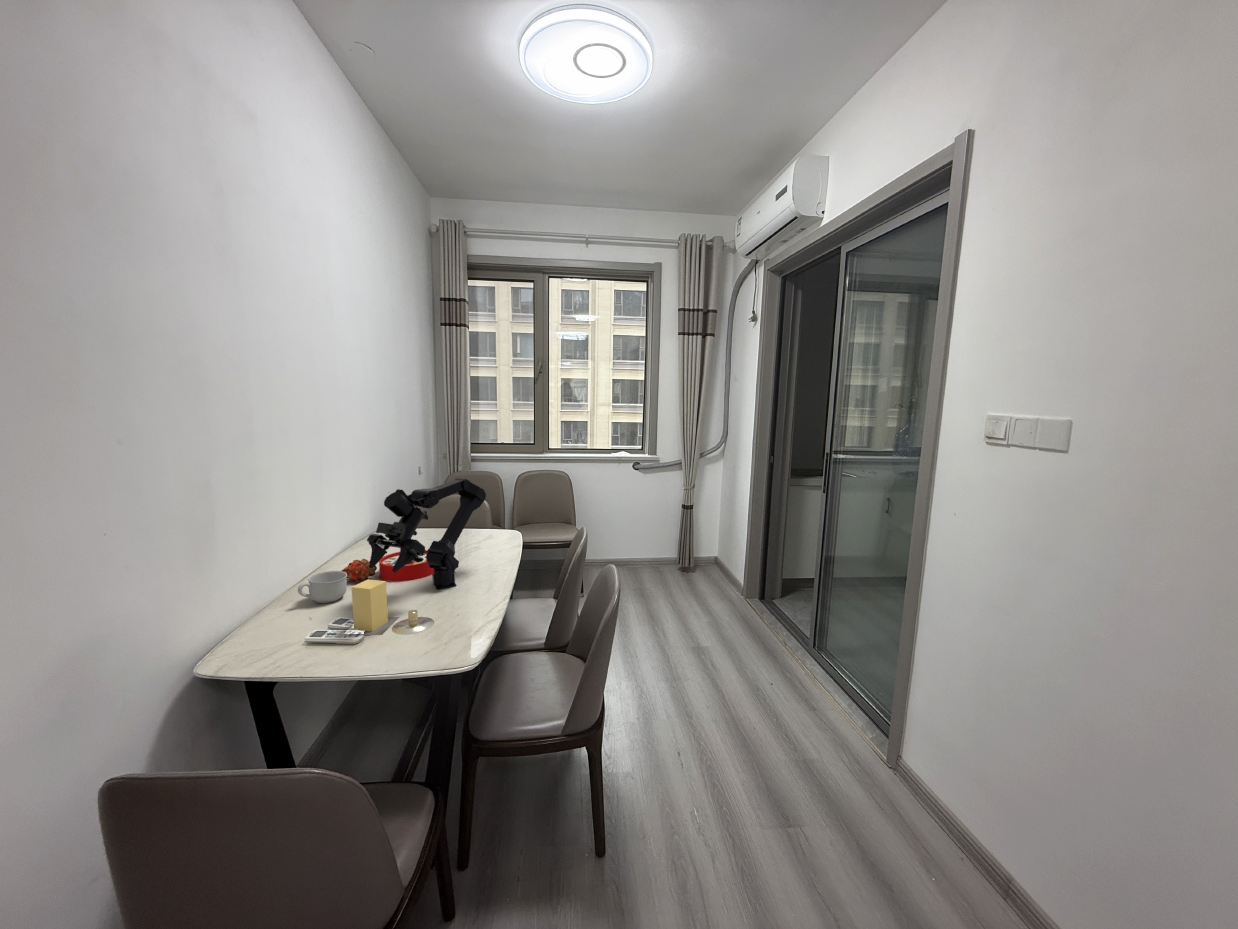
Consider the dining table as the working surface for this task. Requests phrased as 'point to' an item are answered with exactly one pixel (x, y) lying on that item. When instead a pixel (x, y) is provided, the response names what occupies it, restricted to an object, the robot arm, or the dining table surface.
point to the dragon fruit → (359, 570)
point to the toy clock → (404, 568)
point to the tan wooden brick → (369, 605)
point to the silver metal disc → (413, 624)
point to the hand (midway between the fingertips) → (381, 570)
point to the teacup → (325, 586)
